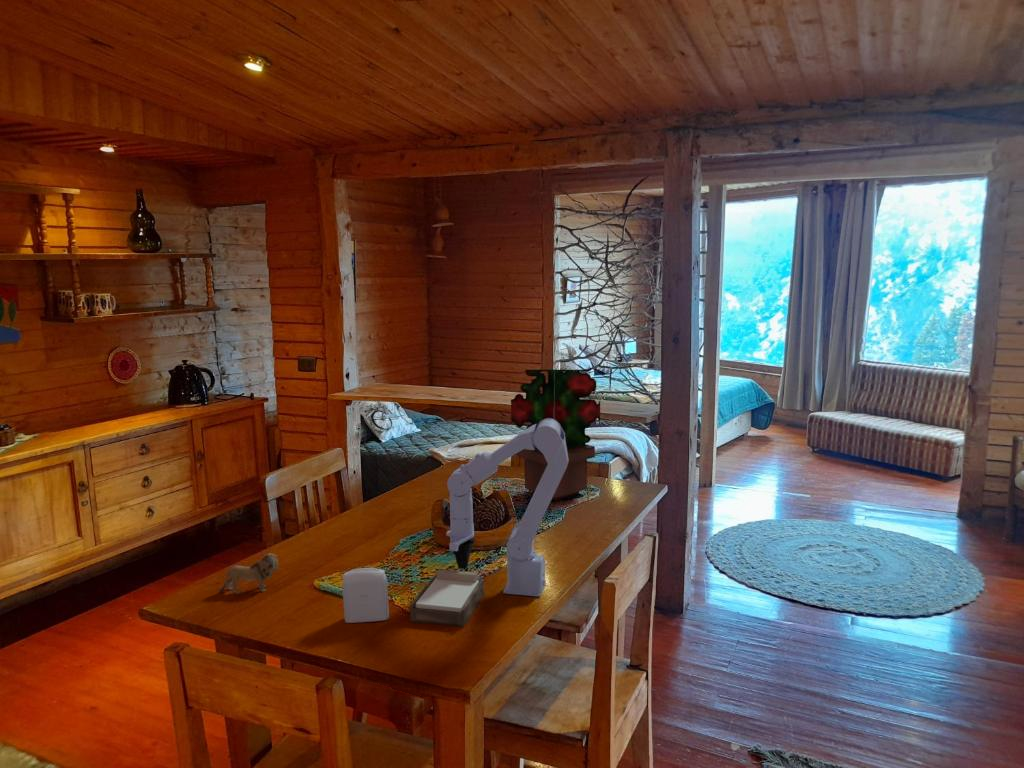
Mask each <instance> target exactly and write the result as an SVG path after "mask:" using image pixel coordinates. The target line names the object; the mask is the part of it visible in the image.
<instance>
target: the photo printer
mask: <svg viewBox="0 0 1024 768" xmlns="http://www.w3.org/2000/svg"><path fill="white" fill-rule="evenodd" d="M341 587H342V598H343V599H342V600H343V612H344V621H345V623H347V624H348V623H349V624H350V623H351V624H352V623H353V624H354V623H366V622H367V623H368V622H380V621H381V622H382V621H386V620H388V619H389V617H390V610H389V609H390V608H389V606H390V605H389V594H388V593H389V592H388V591H389V590H388V577H387V575H386V572H385V570H384V569H381V568H374V567H362V568H361V567H360V568H355V569H352V570H349V571H346V572H344V573H343V577H342V586H341Z"/></svg>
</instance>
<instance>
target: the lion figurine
mask: <svg viewBox="0 0 1024 768" xmlns="http://www.w3.org/2000/svg"><path fill="white" fill-rule="evenodd" d="M278 568H279V560H278V555H276V554H275V553H272V552H269V553H267V554H265V555H264V556H263V557H262V558H261V559H260V560H257V561H256V562H255V563H254V564H253V565H250V566H249V565H248V566H245V565H244V566H243V565H239V564H238V565H232V566H231V567H230V568H228V570H227V573H226V575H225V581H224V584H223V587H222V588H221V589H220V590H219V591H218V592H219V593H221V592H223V591H225V589H226V588H227V589H228V590H233V591H234V593H235V594H236V595H240V594H241V593H242V591H241V590H239V589H238V588H237V587H238V582H239V579H242V580H245V581H249V582H250V581H251V582H253V581H257V582H258V587H259V590H260V592H261V593H265V592H266V591H267V589H266V588H265V587H266V584H265V580H267V579H271V577H272V575H273V574H274V573H275V572H276V571H277V570H278ZM229 576H230V578H229Z"/></svg>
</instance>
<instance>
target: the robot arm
mask: <svg viewBox="0 0 1024 768" xmlns="http://www.w3.org/2000/svg"><path fill="white" fill-rule="evenodd" d="M535 427H536V424H535V425H532V426H531V427H529V428H527V429H526V428H525V429H524V430H522V431H520V433H518V434H517V435H516V436H514V437H512V438H511V439H509V441H507V442H506V443H504V444H502V446H500V447H499V448H497V449H496V450H494V451H493V452H488V451H487V452H486V451H484V452H481V453H480V452H478V453H476V454H475V456H474V458H473V459H472V460H471V461H469V462H467V463H466V464H463V463H462V464H461V465H460V466H459V467H458V468H457V469H455V470H454V471H453V472H452V473H451V475H450V476H449V478H448V479H447V482H446V483H447V484H446V486H447V490H448V491H449V511H450V512H449V513H450V514H449V516H450V517H449V519H450V520H449V521H450V530H447V532H446V534H445V535H446V536H447V537H449V540H450V542H449V544H448V545H449V551H451V552H453V554H454V557H455V561H456V564H457V567H458V569H463V570H464V569H467V568H468V566H469V561H470V556H471V551H472V548H473V546H474V544H475V541H476V538H475V525H474V513H473V512H474V510H473V509H474V508H473V503H474V501H473V492H472V491H473V490H472V487H473V486H476V485H478V484H480V483H482V482H483V481H485V480H486V479H488V478H489V477H491V476H492V475H493V474H495V473H497V472H498V469H499V464H501V463H503V462H504V461H506V460H508V459H510V458H511V457H513V456H515V455H517V453H518V452H519V451H521V450H523V449H529V450H535V447H537V448H538V449H539V450H540V451H541V452H542V453H543V454H544V456H545V459H546V461H547V463H548V465H547V467H546V469H545V471H544V473H543V475H542V478H541V480H540V482H539V484H538V486H537V488H536V490H535V492H534V494H533V495H532V497H531V499H530V502H529V504H528V505H527V507H526V510H525V512H524V513H523V516H522V517H521V519H520V521H519V523H517V524H516V525H514V527H513V528H512V530H511V532H510V533H511V534H510V536H509V539H508V542H507V544H506V552H507V553H506V559H507V563H506V564H507V565H506V566H507V568H506V571H507V573H506V574H507V583H506V585H505V587H504V589H503V594H507V595H517V596H526V597H527V596H529V597H541V596H542V593H543V591H544V589H545V587H546V584H547V583H546V558H545V556H541V555H538V554H537V553H536V550H535V549H534V547H533V545H534V542H535V539H536V534H537V532H538V529H539V526H540V525H541V522H542V521H543V518H544V516H545V515H546V513H547V510H548V508H549V505H550V503H551V502H552V500H551V499H552V497H553V495H554V493H555V491H556V489H557V487H558V485H559V483H560V481H561V478H562V476H563V474H564V472H565V470H566V468H567V465H568V461H569V460H568V453H567V447H566V441H565V433H564V431H563V429H562V428H561V426H560V424H559V423H558V422H557V421H556V420H554V419H550V418H547V419H544V420H542V421H540V422H539V424H538V426H537V428H535Z"/></svg>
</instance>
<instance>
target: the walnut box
mask: <svg viewBox="0 0 1024 768" xmlns="http://www.w3.org/2000/svg"><path fill="white" fill-rule="evenodd" d="M436 577H437V574H434V575H433V576H432V577H431V578H430V580H429V581H428V582H427V584H426V585H425V586H424V587H423V588H422V589H421V591H420V592H419V593H418V595H416V597H415V599H413V601H412V602H411V603H410V604H409V611H410V612H409V613H410V616H409V617H410V622H415V623H424V624H433V625H444V626H450V627H451V626H452V627H462V628H465V627H466V625H467V623H468V622H469V620H470V618H471V616H472V615H473V614H474V612H475V611H476V608H477V607H478V605H479V603H481V601H482V599H483V598H484V595H485V579H484V578H477V580H479V584H478V585H477V587H476V588H475V590H474V592H473V593H472V595H471V596H470V598H469V599H468V601H467V602H466V604H465V605H464V607H463V608H462V610H461V612H455V611H445V610H435V609H425V608H416V602H417V601H418V600H419V599H420V597H421V596H422V595H423V594H424V592H425V591H426V590H427V589H428V587H429V586H430V585H431V584H432V582H433V581H434V580H435V579H436Z"/></svg>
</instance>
